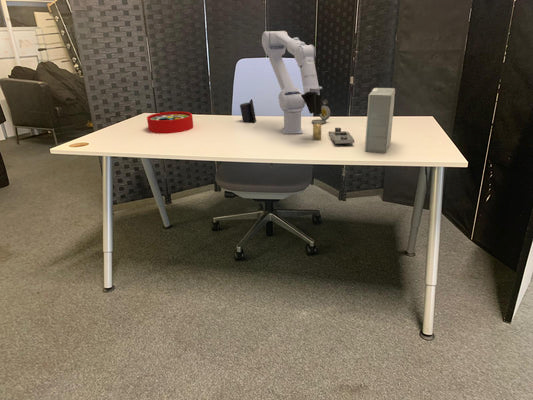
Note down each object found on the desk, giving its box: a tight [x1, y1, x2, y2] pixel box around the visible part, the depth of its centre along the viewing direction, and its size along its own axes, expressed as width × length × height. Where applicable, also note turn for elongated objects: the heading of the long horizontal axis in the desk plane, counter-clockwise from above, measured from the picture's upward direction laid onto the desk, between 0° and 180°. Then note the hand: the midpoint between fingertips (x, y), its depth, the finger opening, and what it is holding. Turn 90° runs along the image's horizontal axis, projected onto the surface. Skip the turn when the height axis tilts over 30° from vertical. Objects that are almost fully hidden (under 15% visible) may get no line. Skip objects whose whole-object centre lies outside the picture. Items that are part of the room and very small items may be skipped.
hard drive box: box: [364, 87, 396, 154], centre depth 140 cm, size 16×8×20 cm, turn 159°
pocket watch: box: [311, 99, 331, 125], centre depth 180 cm, size 8×8×10 cm
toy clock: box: [146, 111, 194, 135], centre depth 178 cm, size 20×6×20 cm
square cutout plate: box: [327, 127, 355, 147], centre depth 153 cm, size 18×7×3 cm, turn 179°
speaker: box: [239, 99, 257, 124], centre depth 186 cm, size 8×6×10 cm
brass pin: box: [312, 123, 322, 141], centre depth 154 cm, size 3×3×6 cm
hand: (315, 113), depth 148 cm, fingers open, 7 cm apart
